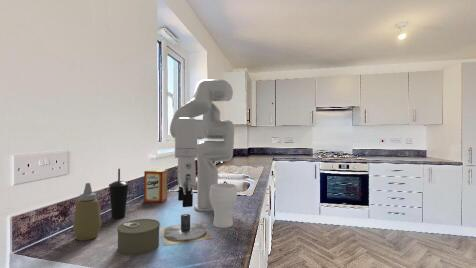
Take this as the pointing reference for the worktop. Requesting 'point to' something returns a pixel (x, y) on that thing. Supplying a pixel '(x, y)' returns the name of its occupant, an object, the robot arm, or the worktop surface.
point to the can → (138, 237)
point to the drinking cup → (118, 197)
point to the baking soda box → (155, 186)
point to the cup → (223, 203)
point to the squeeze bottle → (87, 215)
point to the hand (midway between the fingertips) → (185, 203)
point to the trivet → (171, 242)
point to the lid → (185, 230)
